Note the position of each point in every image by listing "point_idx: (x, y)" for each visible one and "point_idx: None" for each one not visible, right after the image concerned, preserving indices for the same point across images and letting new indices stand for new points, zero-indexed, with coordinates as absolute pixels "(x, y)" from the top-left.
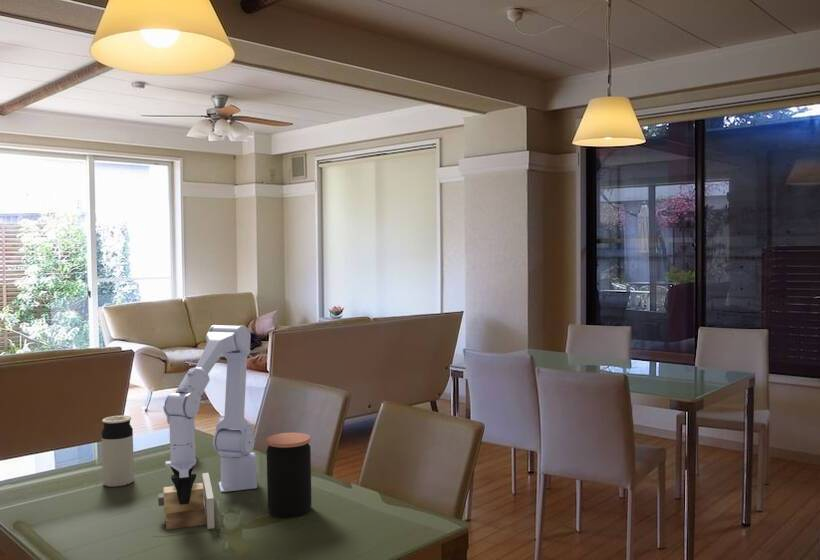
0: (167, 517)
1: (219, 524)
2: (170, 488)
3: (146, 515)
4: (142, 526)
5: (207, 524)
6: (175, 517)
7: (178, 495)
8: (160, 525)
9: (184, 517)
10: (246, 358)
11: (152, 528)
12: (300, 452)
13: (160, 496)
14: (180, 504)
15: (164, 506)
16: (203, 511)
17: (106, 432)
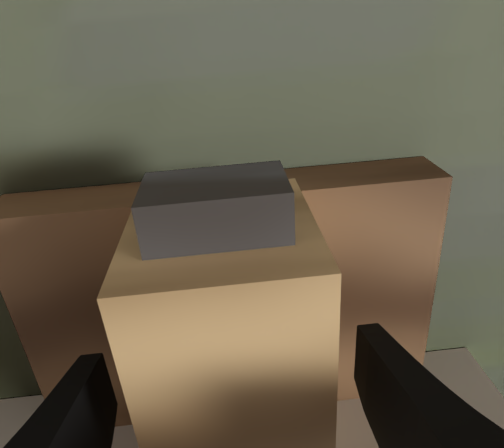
0: (52, 224)
1: None
2: (263, 346)
3: (344, 15)
4: (92, 4)
5: (9, 413)
6: (48, 276)
7: (26, 425)
8: (94, 147)
9: (40, 329)
10: None
11: (37, 93)
12: None
13: (177, 225)
14: (78, 359)
15: (129, 224)
16: None
17: None
